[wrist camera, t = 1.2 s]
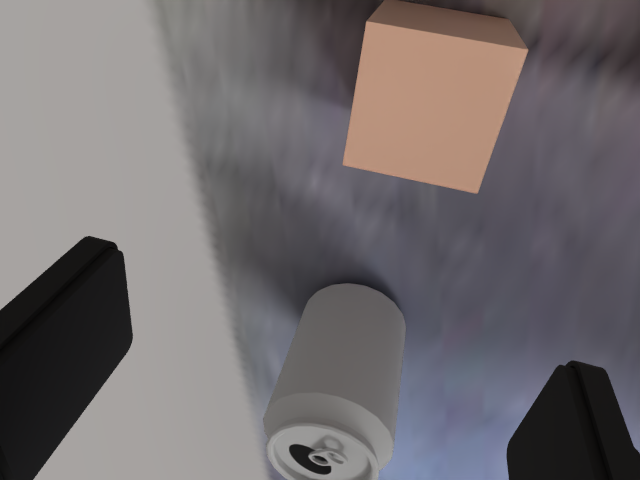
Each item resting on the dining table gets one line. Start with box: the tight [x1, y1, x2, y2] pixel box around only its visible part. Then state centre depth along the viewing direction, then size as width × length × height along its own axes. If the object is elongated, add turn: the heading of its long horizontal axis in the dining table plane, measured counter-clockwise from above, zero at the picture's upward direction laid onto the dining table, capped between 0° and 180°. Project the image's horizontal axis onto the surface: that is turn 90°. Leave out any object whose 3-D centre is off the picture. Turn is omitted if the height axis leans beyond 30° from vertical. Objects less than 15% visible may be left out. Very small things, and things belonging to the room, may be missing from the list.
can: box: [263, 283, 406, 480], centre depth 31 cm, size 8×8×12 cm
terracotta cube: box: [343, 0, 528, 194], centre depth 22 cm, size 6×6×7 cm
